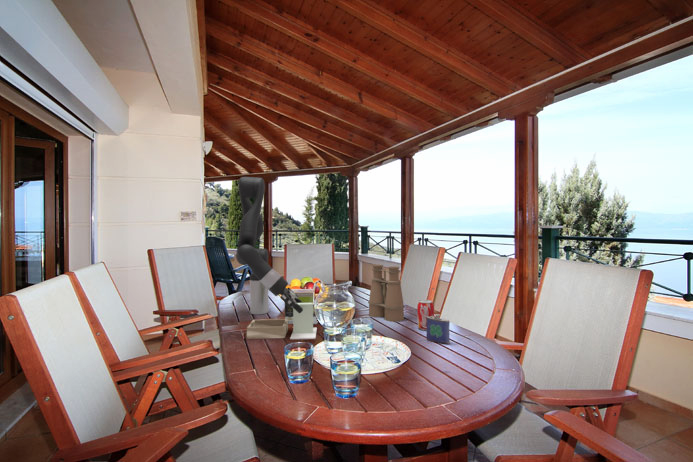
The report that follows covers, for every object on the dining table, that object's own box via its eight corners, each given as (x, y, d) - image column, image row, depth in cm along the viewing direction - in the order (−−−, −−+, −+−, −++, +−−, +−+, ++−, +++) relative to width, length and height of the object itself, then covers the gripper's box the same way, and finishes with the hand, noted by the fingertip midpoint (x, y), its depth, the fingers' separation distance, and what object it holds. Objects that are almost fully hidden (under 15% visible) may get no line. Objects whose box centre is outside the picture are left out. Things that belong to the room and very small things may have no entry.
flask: (450, 343, 135) (450, 315, 135) (447, 345, 133) (447, 316, 132) (428, 338, 141) (428, 311, 140) (424, 340, 138) (424, 313, 138)
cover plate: (294, 331, 150) (293, 303, 150) (313, 330, 151) (312, 302, 150) (293, 333, 147) (293, 304, 147) (312, 333, 148) (312, 304, 147)
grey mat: (293, 329, 155) (293, 327, 155) (316, 328, 156) (316, 327, 156) (290, 339, 141) (290, 338, 141) (315, 338, 142) (315, 337, 142)
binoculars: (364, 314, 179) (363, 265, 178) (378, 311, 185) (377, 263, 185) (395, 323, 163) (394, 268, 162) (409, 319, 169) (408, 266, 169)
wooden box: (253, 330, 154) (253, 319, 154) (288, 329, 155) (288, 318, 155) (246, 338, 142) (246, 327, 142) (284, 337, 143) (284, 326, 143)
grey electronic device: (320, 319, 172) (320, 288, 171) (316, 325, 162) (316, 292, 161) (290, 318, 173) (289, 288, 173) (284, 324, 163) (283, 292, 163)
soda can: (416, 330, 152) (415, 302, 151) (419, 325, 158) (418, 298, 158) (432, 332, 149) (432, 303, 149) (435, 327, 156) (435, 300, 155)
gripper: (278, 278, 141) (307, 306, 142) (283, 273, 155) (309, 299, 156) (264, 292, 141) (294, 320, 141) (270, 285, 155) (297, 311, 156)
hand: (302, 309), depth 149 cm, fingers open, 8 cm apart
